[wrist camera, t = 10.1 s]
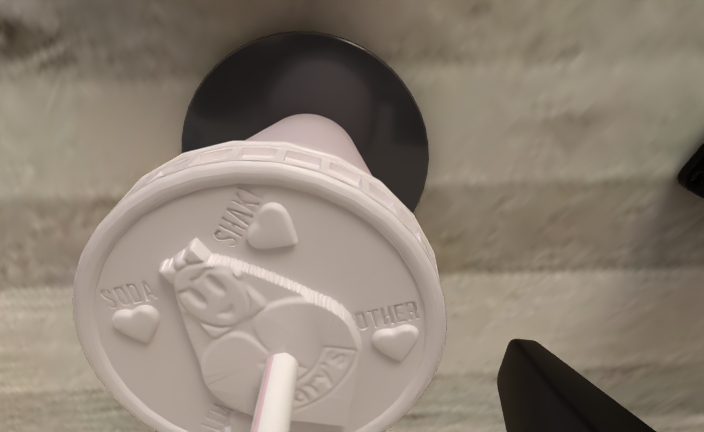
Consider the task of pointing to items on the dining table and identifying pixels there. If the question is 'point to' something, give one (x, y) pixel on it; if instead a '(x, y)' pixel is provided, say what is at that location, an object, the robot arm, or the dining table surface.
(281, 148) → the smoothie
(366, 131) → the coaster
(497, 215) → the dining table surface
